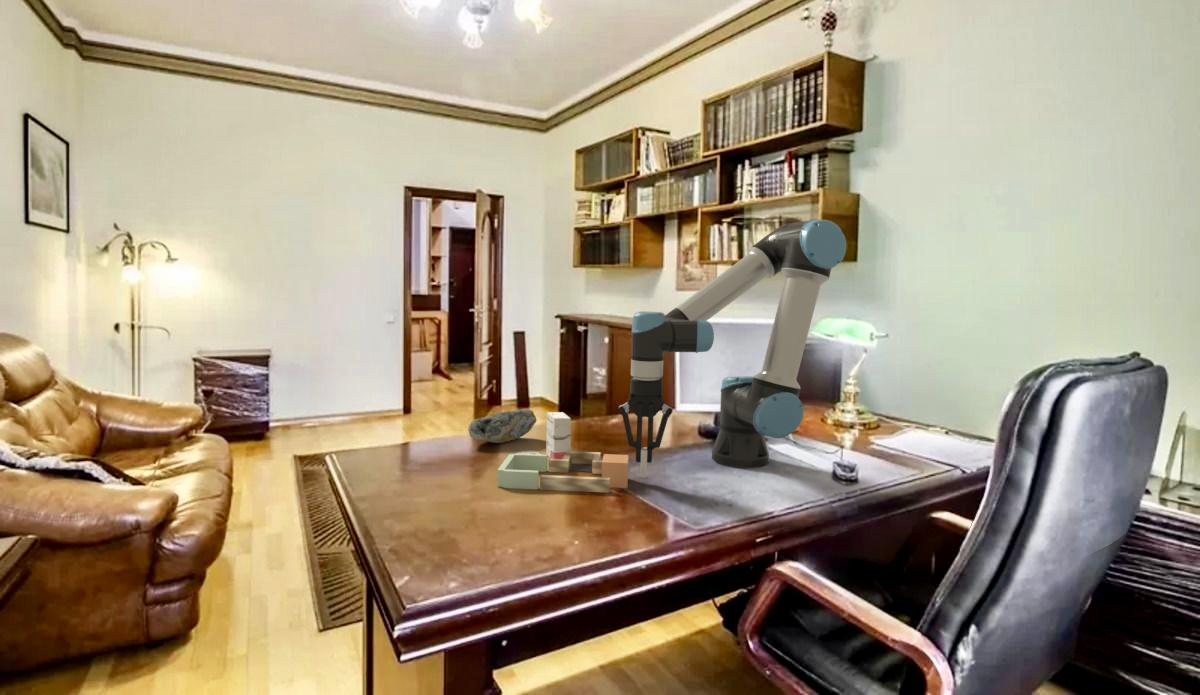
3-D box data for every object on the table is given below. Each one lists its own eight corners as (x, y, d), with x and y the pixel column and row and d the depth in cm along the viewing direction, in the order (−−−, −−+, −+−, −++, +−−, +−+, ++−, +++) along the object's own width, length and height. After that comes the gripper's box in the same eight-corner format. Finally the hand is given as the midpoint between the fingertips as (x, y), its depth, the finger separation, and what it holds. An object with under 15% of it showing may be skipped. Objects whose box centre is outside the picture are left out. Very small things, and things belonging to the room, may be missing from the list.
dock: (547, 470, 164) (547, 454, 164) (537, 489, 149) (537, 472, 149) (510, 468, 165) (510, 453, 164) (496, 487, 150) (496, 470, 149)
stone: (461, 442, 189) (461, 408, 188) (529, 434, 200) (529, 402, 198) (473, 451, 180) (473, 416, 178) (543, 443, 190) (544, 409, 189)
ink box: (571, 461, 172) (572, 417, 171) (553, 463, 170) (553, 418, 169) (562, 452, 180) (563, 411, 179) (545, 454, 179) (546, 411, 177)
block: (627, 478, 159) (628, 455, 158) (627, 488, 152) (627, 463, 151) (603, 477, 159) (603, 454, 158) (601, 487, 152) (602, 462, 152)
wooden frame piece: (613, 464, 170) (614, 452, 170) (609, 492, 148) (609, 479, 148) (553, 461, 171) (553, 450, 171) (539, 489, 149) (539, 476, 149)
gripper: (673, 376, 155) (670, 471, 158) (619, 374, 156) (616, 469, 159) (675, 381, 148) (671, 481, 151) (618, 379, 149) (615, 479, 151)
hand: (643, 475), depth 155 cm, fingers closed
